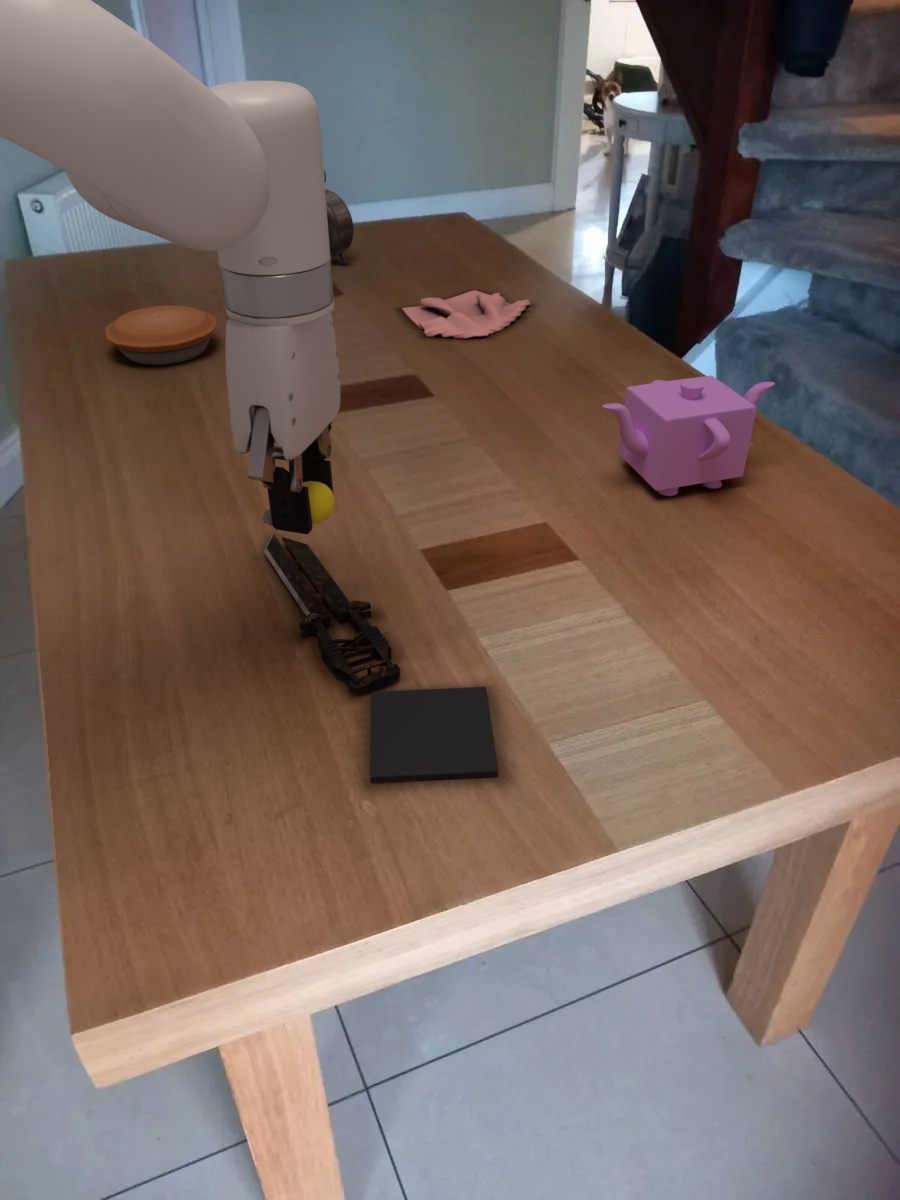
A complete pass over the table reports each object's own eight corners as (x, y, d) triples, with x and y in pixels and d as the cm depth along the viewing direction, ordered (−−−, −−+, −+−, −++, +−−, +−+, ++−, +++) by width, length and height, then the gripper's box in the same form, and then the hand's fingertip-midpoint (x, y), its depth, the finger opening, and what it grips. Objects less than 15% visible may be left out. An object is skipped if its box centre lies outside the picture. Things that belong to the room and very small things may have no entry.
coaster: (370, 783, 65) (370, 777, 64) (371, 697, 72) (371, 691, 72) (497, 776, 65) (498, 770, 65) (485, 692, 72) (486, 686, 72)
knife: (258, 543, 90) (256, 531, 89) (322, 530, 92) (320, 518, 91) (331, 704, 71) (330, 690, 70) (409, 683, 73) (409, 669, 72)
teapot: (646, 435, 109) (658, 346, 103) (758, 462, 103) (778, 370, 97) (592, 489, 99) (602, 394, 92) (714, 523, 93) (733, 424, 86)
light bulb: (344, 524, 74) (329, 498, 71) (274, 548, 74) (256, 524, 71) (337, 492, 75) (322, 466, 72) (269, 515, 76) (251, 490, 73)
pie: (183, 324, 141) (178, 291, 138) (241, 350, 132) (237, 316, 129) (90, 351, 132) (81, 316, 129) (145, 380, 123) (137, 344, 120)
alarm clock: (357, 263, 166) (351, 166, 157) (337, 271, 163) (329, 172, 153) (313, 253, 172) (304, 159, 162) (293, 260, 168) (283, 164, 159)
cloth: (418, 343, 134) (418, 327, 132) (395, 296, 151) (395, 281, 150) (553, 333, 137) (554, 317, 136) (515, 288, 154) (516, 273, 153)
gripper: (279, 251, 71) (303, 464, 82) (167, 322, 58) (212, 564, 69) (371, 258, 69) (382, 475, 80) (276, 333, 56) (305, 580, 67)
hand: (304, 514), depth 74 cm, fingers closed on light bulb, 3 cm apart
